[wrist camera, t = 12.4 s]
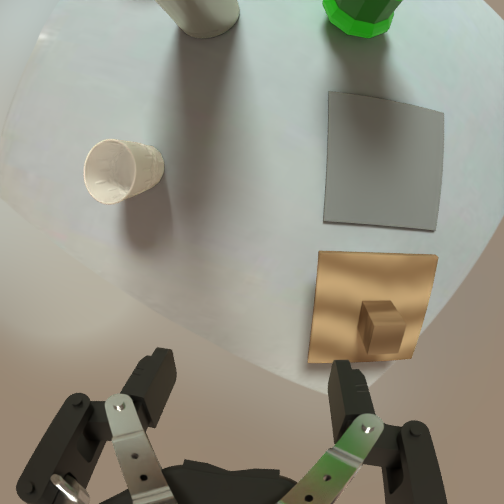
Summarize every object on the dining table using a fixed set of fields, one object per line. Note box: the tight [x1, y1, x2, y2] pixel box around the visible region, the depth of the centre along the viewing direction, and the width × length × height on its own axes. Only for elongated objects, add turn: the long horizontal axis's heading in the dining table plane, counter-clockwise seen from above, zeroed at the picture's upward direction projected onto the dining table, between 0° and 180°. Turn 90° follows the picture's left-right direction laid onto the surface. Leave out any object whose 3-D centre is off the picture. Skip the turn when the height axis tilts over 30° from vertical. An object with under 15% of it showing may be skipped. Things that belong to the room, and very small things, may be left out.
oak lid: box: [308, 251, 438, 363], centre depth 32 cm, size 16×16×7 cm
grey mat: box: [323, 91, 444, 230], centre depth 36 cm, size 18×18×1 cm
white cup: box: [84, 139, 164, 205], centre depth 35 cm, size 8×8×10 cm
